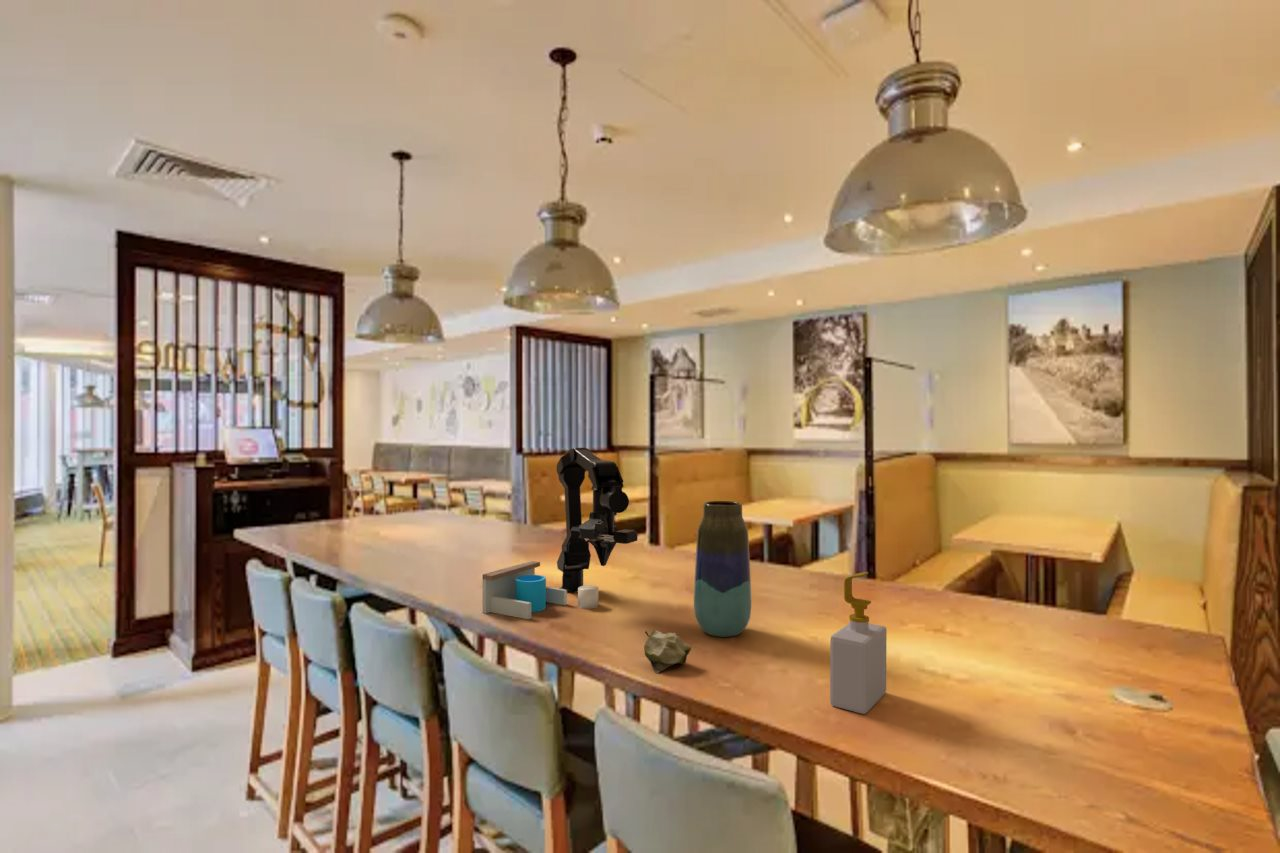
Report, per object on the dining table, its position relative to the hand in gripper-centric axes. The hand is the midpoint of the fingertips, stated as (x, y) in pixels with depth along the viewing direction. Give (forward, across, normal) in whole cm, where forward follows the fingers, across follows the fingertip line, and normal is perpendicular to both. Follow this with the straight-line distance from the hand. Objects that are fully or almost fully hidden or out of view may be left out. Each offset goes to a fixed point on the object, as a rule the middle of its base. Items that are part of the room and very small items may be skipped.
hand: (603, 565), depth 178 cm
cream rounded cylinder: (+12, -6, +1) cm, 13 cm away
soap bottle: (+12, +73, -22) cm, 77 cm away
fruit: (+12, +34, -26) cm, 45 cm away
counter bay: (+12, -18, -10) cm, 23 cm away
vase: (+12, +36, 0) cm, 37 cm away
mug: (+12, -19, -8) cm, 24 cm away
